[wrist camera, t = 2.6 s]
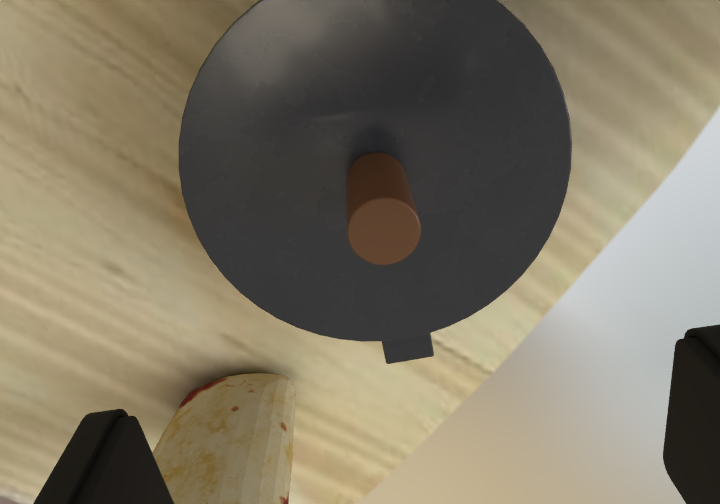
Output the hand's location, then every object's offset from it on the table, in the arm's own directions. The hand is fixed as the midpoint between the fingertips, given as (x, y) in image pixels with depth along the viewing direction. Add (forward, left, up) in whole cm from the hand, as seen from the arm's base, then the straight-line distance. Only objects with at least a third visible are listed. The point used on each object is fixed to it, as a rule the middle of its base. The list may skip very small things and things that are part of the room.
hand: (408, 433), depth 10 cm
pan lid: (0, 0, -15) cm, 15 cm away
